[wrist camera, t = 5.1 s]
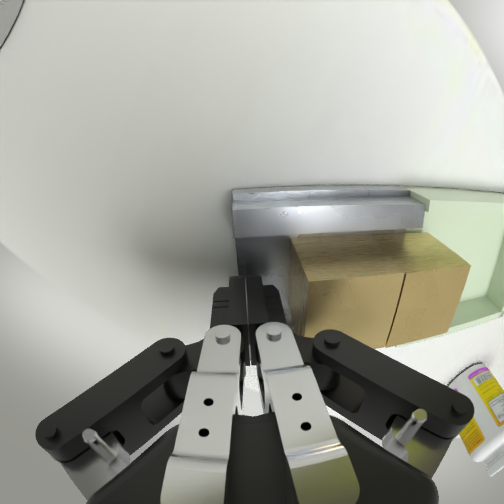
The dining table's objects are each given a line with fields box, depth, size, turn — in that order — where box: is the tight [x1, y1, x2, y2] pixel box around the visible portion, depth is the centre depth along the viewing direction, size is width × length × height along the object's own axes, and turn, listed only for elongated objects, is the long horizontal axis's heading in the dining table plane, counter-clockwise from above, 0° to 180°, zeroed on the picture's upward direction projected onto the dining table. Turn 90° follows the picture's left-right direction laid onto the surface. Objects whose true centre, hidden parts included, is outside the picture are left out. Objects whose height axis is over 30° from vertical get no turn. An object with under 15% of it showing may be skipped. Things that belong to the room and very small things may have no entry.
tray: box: [395, 186, 504, 347], centre depth 14 cm, size 11×9×3 cm
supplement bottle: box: [448, 364, 504, 476], centre depth 17 cm, size 7×7×13 cm
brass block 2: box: [368, 232, 471, 348], centre depth 13 cm, size 4×4×4 cm
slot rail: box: [232, 185, 426, 360], centre depth 14 cm, size 9×9×2 cm
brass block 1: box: [289, 234, 405, 349], centre depth 13 cm, size 4×4×4 cm
